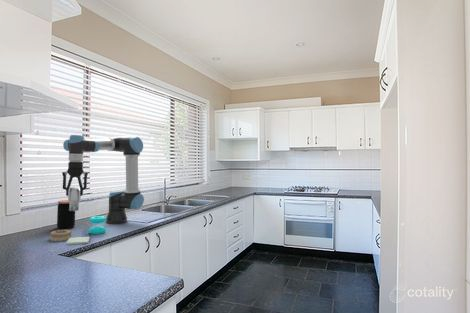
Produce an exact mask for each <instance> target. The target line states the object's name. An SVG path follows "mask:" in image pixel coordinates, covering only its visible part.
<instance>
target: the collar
mask: <svg viewBox="0 0 470 313" xmlns="http://www.w3.org/2000/svg"><path fill="white" fill-rule="evenodd" d="M49 237H50V241H53V242H62V241H63V240H64V241H68V239H69V238H72V230H71V229H70V230H69V229H58V230H53V231H51V232H50V236H49Z"/></svg>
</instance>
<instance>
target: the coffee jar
mask: <svg viewBox="0 0 470 313" xmlns="http://www.w3.org/2000/svg"><path fill="white" fill-rule="evenodd" d="M57 203H58V204H57V210H56V211H57V215H56V227H57V229H58V230H69V229H73V228H74V227H75V226H76V211H69V204H70V202H68V199H65V200H64V199H63V200H58V201H57Z"/></svg>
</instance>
